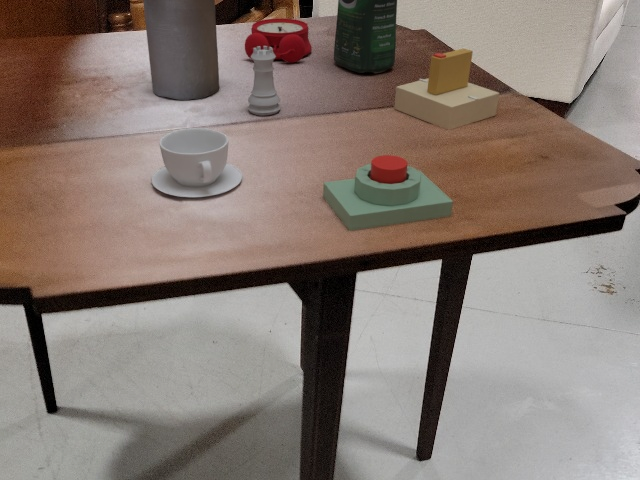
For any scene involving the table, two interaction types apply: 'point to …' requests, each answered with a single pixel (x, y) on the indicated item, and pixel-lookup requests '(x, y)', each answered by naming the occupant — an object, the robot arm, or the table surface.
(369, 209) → the button block
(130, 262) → the table surface
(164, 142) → the teacup
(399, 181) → the button
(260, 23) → the alarm clock
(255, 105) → the rook chess piece
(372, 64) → the coffee jar
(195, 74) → the pillar candle
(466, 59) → the handle
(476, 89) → the plate
